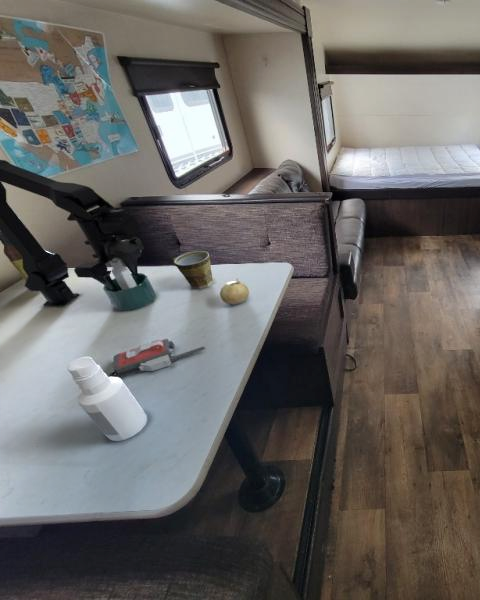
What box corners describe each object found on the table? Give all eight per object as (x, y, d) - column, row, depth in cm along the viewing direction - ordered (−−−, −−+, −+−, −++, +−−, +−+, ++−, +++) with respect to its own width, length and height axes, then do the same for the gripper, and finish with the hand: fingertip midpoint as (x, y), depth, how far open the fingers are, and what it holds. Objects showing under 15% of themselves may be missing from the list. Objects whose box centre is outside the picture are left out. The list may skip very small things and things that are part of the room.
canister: (106, 310, 101) (93, 291, 98) (132, 291, 111) (122, 272, 107) (140, 312, 101) (129, 292, 97) (164, 292, 110) (155, 273, 106)
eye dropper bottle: (123, 298, 101) (102, 262, 94) (122, 289, 105) (103, 255, 98) (140, 293, 103) (121, 258, 96) (139, 285, 107) (121, 251, 100)
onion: (234, 311, 101) (227, 291, 97) (218, 303, 104) (210, 283, 100) (256, 298, 106) (250, 278, 102) (240, 291, 110) (233, 272, 106)
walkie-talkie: (111, 387, 77) (207, 354, 85) (101, 373, 74) (201, 341, 83) (114, 363, 83) (203, 335, 92) (105, 350, 81) (197, 322, 89)
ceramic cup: (224, 277, 117) (215, 251, 111) (206, 293, 109) (195, 266, 103) (191, 274, 119) (180, 249, 113) (170, 290, 111) (158, 263, 105)
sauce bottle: (59, 280, 117) (22, 226, 105) (40, 289, 112) (-2, 234, 100) (45, 278, 118) (6, 224, 107) (25, 287, 113) (-18, 232, 102)
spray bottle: (120, 413, 71) (72, 351, 61) (154, 411, 71) (112, 348, 61) (99, 443, 65) (42, 379, 55) (136, 440, 66) (86, 376, 55)
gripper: (99, 250, 85) (128, 301, 94) (149, 222, 100) (170, 268, 109) (57, 249, 85) (90, 299, 94) (114, 221, 101) (138, 267, 110)
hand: (125, 282), depth 102 cm, fingers closed on eye dropper bottle, 8 cm apart
